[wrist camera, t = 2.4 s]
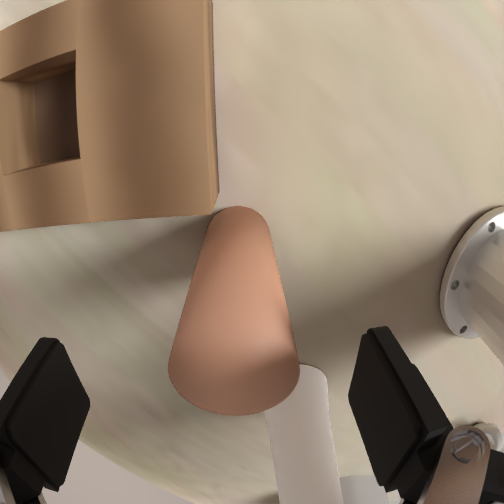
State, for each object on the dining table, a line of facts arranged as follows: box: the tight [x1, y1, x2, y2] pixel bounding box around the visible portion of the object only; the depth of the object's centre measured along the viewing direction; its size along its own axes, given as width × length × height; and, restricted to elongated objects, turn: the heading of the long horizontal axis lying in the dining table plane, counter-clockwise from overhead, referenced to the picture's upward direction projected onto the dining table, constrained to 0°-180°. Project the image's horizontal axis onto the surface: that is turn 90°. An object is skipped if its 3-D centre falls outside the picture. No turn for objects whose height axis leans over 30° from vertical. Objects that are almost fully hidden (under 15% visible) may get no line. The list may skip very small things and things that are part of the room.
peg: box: [168, 206, 300, 415], centre depth 15 cm, size 4×4×12 cm
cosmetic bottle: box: [264, 364, 344, 504], centre depth 16 cm, size 6×6×22 cm
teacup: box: [474, 423, 504, 453], centre depth 29 cm, size 14×11×8 cm
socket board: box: [0, 0, 219, 232], centre depth 14 cm, size 18×12×5 cm, turn 92°
